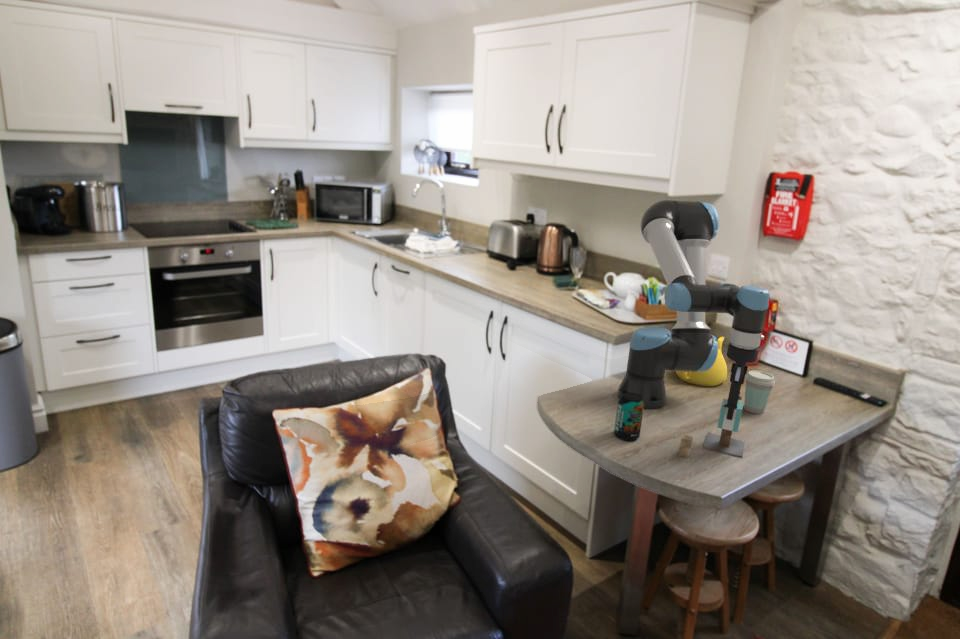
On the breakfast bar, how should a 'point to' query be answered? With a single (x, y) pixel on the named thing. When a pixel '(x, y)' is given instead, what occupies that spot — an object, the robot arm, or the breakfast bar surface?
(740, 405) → the teal rectangular block
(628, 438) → the beverage can
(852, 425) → the breakfast bar surface
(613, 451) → the breakfast bar surface
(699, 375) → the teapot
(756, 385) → the coffee cup
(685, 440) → the oak stub
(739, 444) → the grey square base stand
